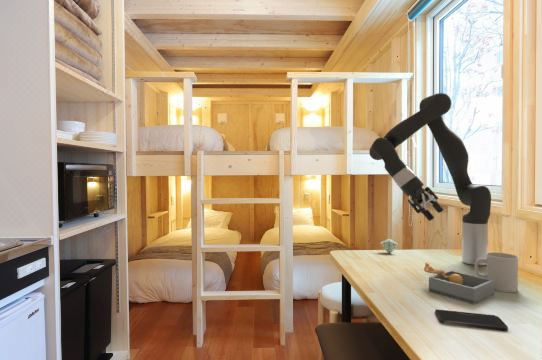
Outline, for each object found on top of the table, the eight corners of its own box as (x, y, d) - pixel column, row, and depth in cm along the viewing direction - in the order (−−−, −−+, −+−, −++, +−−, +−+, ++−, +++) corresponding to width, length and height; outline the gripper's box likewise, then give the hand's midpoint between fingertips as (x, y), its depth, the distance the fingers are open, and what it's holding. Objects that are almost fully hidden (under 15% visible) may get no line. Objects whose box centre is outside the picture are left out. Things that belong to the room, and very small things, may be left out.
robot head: (380, 253, 159) (380, 239, 159) (381, 251, 163) (381, 237, 162) (397, 254, 156) (398, 240, 155) (398, 252, 159) (398, 238, 159)
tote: (449, 283, 114) (449, 270, 114) (494, 294, 103) (494, 280, 103) (428, 291, 107) (428, 277, 107) (474, 304, 96) (474, 288, 95)
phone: (509, 328, 79) (440, 320, 83) (509, 333, 79) (440, 325, 83) (497, 315, 86) (434, 308, 91) (497, 319, 86) (434, 312, 91)
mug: (514, 286, 111) (514, 253, 111) (520, 294, 104) (521, 259, 104) (473, 281, 117) (473, 250, 116) (476, 288, 109) (476, 255, 109)
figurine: (463, 281, 102) (428, 255, 109) (450, 295, 103) (417, 269, 111) (468, 278, 108) (435, 254, 115) (456, 292, 110) (425, 267, 117)
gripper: (405, 181, 120) (436, 217, 116) (422, 170, 129) (452, 204, 125) (391, 192, 126) (421, 227, 121) (409, 181, 135) (436, 213, 130)
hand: (436, 215), depth 123 cm, fingers open, 8 cm apart
